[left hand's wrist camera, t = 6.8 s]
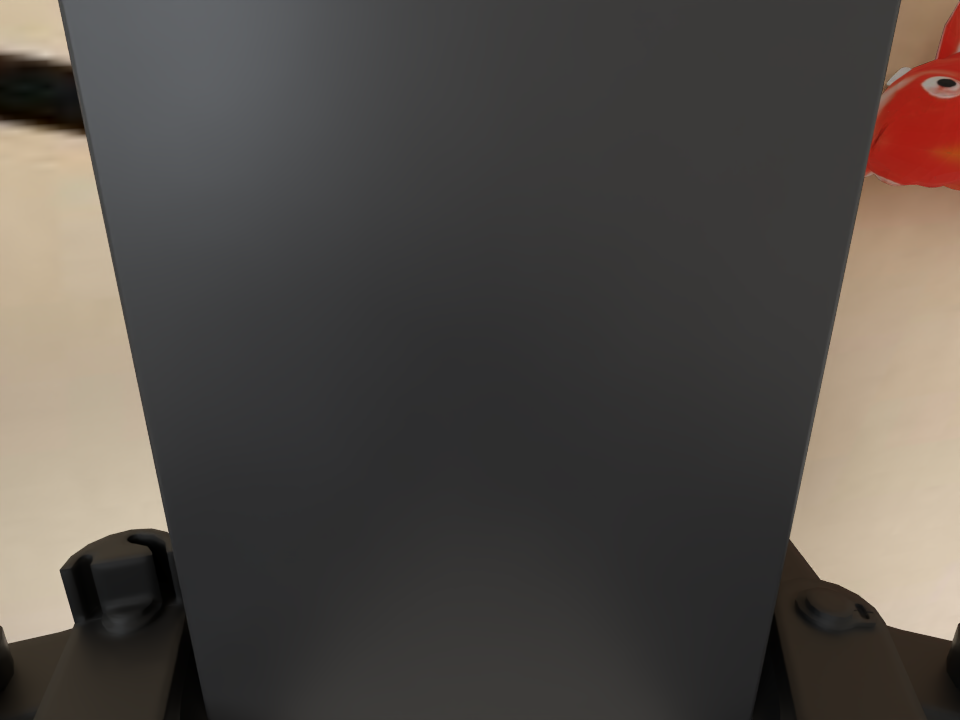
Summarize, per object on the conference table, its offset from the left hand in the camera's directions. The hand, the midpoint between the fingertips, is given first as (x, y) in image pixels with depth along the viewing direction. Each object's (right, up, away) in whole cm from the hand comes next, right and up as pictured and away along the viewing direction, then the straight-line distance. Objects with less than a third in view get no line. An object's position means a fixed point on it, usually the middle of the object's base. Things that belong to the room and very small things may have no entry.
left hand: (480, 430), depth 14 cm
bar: (0, +12, -4) cm, 13 cm away
